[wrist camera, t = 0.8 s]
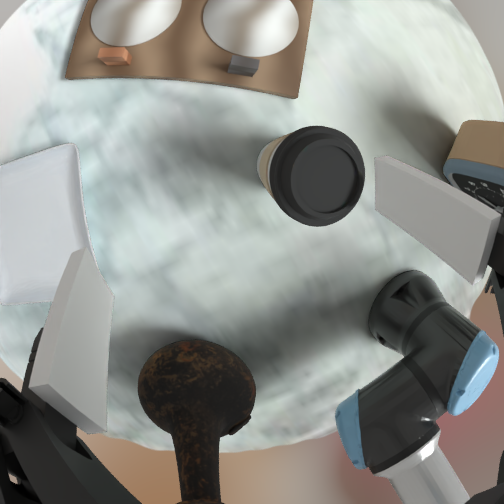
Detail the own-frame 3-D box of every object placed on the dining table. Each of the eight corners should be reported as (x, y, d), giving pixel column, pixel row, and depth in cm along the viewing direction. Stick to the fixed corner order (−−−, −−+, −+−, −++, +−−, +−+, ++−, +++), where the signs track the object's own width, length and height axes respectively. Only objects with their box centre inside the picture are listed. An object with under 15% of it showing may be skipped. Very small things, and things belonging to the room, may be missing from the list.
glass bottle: (214, 409, 50) (232, 541, 25) (127, 375, 45) (104, 521, 19) (270, 350, 47) (324, 502, 21) (172, 302, 41) (157, 487, 15)
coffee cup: (237, 186, 37) (259, 213, 23) (261, 120, 34) (299, 106, 20) (301, 208, 39) (353, 245, 25) (324, 146, 37) (389, 152, 23)
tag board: (311, -7, 28) (325, -24, 23) (294, 99, 34) (308, 92, 29) (104, -26, 22) (93, -44, 17) (69, 79, 27) (51, 72, 22)
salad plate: (86, 139, 31) (76, 139, 28) (112, 288, 39) (106, 300, 36) (-21, 173, 29) (-33, 177, 25) (9, 296, 36) (0, 306, 33)
